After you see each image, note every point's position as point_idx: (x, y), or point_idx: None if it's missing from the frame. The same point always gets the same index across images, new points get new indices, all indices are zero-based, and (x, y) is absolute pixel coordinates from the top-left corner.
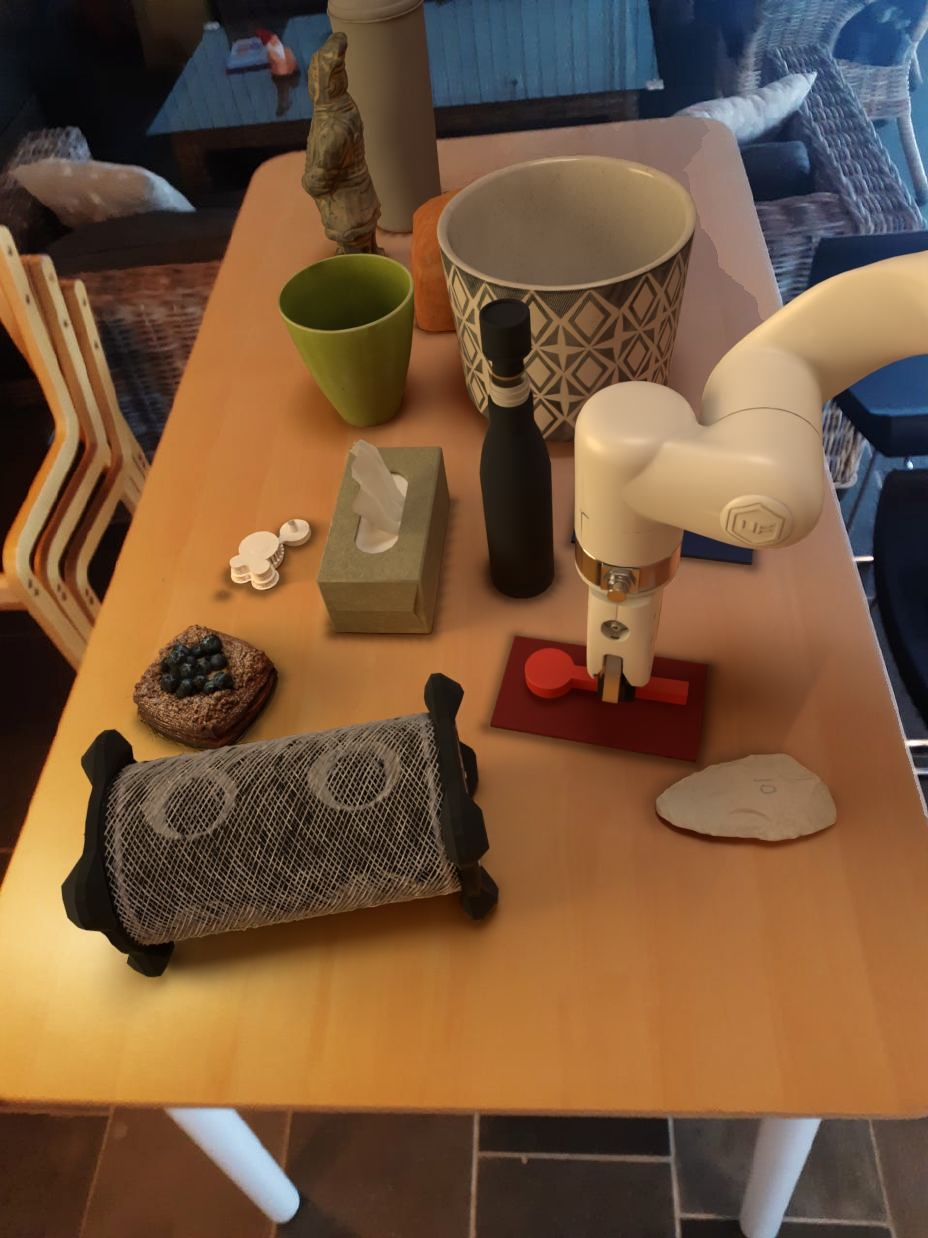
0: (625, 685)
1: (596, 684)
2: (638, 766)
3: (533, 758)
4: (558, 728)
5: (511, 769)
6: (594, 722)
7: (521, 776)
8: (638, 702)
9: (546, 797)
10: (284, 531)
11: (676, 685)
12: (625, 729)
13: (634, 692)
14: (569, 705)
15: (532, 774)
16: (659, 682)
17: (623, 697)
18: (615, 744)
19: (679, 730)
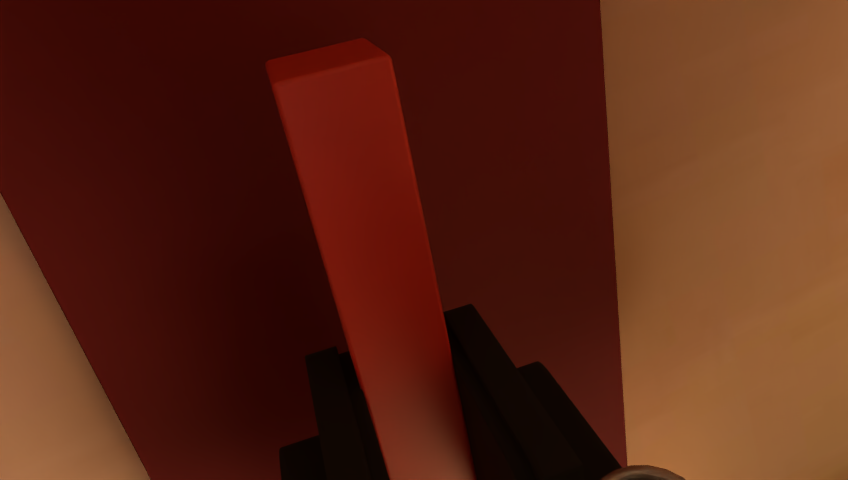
0: (605, 460)
1: None
2: (657, 123)
3: (700, 438)
4: None
5: (744, 465)
6: (538, 361)
7: (761, 432)
8: None
9: (816, 342)
10: None
11: (339, 154)
12: (530, 246)
13: (504, 351)
14: None
15: (751, 412)
16: (367, 260)
17: (553, 382)
18: (608, 249)
19: (454, 14)
